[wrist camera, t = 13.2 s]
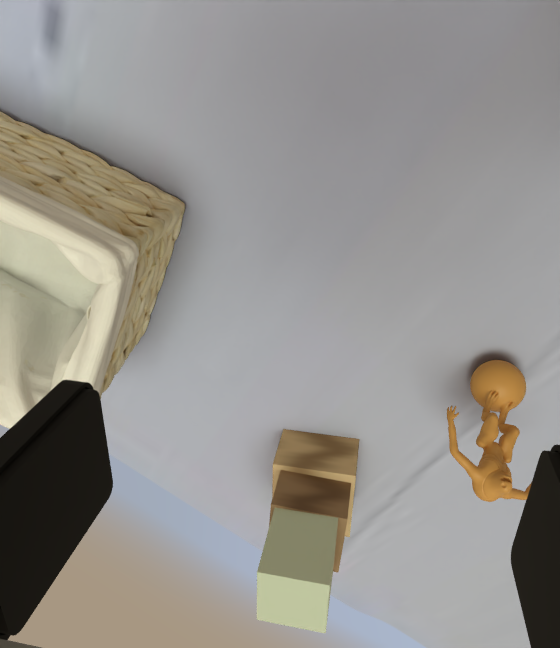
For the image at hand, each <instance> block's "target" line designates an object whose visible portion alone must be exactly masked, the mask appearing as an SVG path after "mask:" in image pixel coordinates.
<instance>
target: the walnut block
mask: <svg viewBox="0 0 560 648" xmlns="http://www.w3.org/2000/svg"><path fill="white" fill-rule="evenodd" d="M350 490H351V483H348V482H343V481H338V480H333V479H327V478H322V477H317V476H311V475H306V474H301V473H296V472H290V471H285V470H281V471H280V474H279V478H278V481H277V485H276V488H275V492H274V496H273V499H272V503H271V511H270V523H271V519H272V516H273V512H274V508H275V507H276V508H282V509H288V510H294V511H300V512H306V513H312V514H318V515H324V516H330V517H336V518H338V527H337V537H336V547H335V557H334V567H333V571H334V572H338V571H339V565H340V559H341V554H342V548H343V542H344V536H345V531H346V525H347V519H348V509H349V500H350ZM270 523H269V527H270Z"/></svg>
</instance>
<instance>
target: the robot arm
mask: <svg viewBox="0 0 560 648" xmlns="http://www.w3.org/2000/svg"><path fill="white" fill-rule="evenodd" d="M112 487H113V480H112V473H111V466H110V460H109V453H108V447H107V440H106V433H105V427H104V420H103V414H102V407H101V401H100V395H99V393H98V391H96V390H94V389H93V386H92V385H91V384H90V383H88V382H80V381H73V380H62V381H61V382H60V383H58V384H57V385H56V386H55V387H54V388H53V389H52V390H51V391H50V392H49V393H48V394H47V395H46V396H45V397H44V398H42V399H41V400H40V401H39V402H38V403H37V404H36V405H35V406H34V407H33V408H32V409H31V410H30V411H29V412H27V413H26V414H25V415H24V416H23V417H22V418H21V419H20V420H19V421H18V422H17V423H16V424H15V425H14V426H13V427H11V428H10V429H9V430H8V431H7V432H6V433H5V434H4V435H3V436H2V437H1V438H0V648H41V647H36V646H31V645H27V644H22V643H17V642H13V641H8V638H9V637H10V635H16V634H17V633H19V632H20V631H21V629H22V628H23V627H24V625H25V624H26V622H27V621H28V619H29V618H30V616H31V615H32V613H33V612H34V610H35V609H36V607H37V605H38V604H39V603H40V601H41V600H42V598H43V597H44V595H45V594H46V592H47V591H48V589H49V588H50V586H51V585H52V583H53V582H54V580H55V579H56V577H57V576H58V574H59V572H60V571H61V569H62V568H63V566H64V565H65V563H66V562H67V560H68V559H69V557H70V556H71V554H72V553H73V551H74V550H75V548H76V547H77V545H78V544H79V542H80V541H81V539H82V538H83V536H84V534H85V533H86V532H87V530H88V529H89V527H90V526H91V524H92V523H93V521H94V520H95V518H96V516H97V515H98V514H99V512H100V511H101V509H102V508H103V506H104V504H105V503H106V502H107V500H108V499H109V497H110V494H111V491H112ZM511 564H512V570H513V574H514V578H515V582H516V586H517V590H518V595H519V599H520V603H521V607H522V611H523V616H524V620H525V624H526V628H527V632H528V636H529V641H530V645H531V648H560V445H554V446H553V447H552V449H551V451H543V452H542V453H541V455H540V458H539V461H538V464H537V467H536V471H535V474H534V477H533V481H532V484H531V487H530V490H529V494H528V497H527V500H526V503H525V507H524V510H523V513H522V516H521V520H520V523H519V526H518V529H517V533H516V536H515V539H514V542H513V546H512V550H511Z"/></svg>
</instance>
